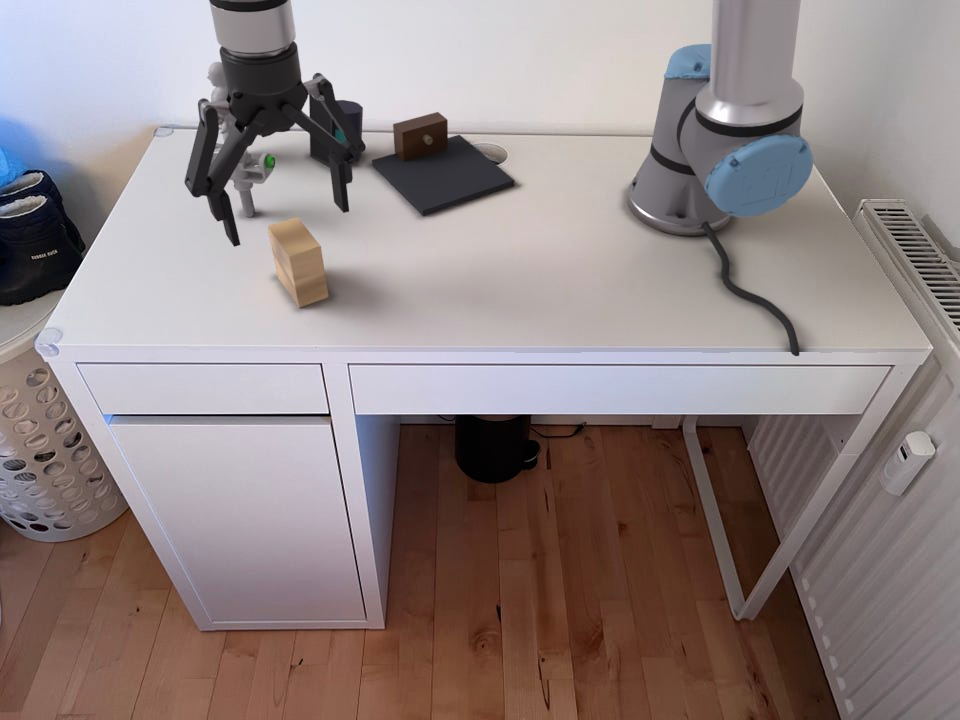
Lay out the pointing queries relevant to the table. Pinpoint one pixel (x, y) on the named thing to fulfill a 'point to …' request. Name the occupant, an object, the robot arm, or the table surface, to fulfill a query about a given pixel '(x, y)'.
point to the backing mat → (443, 176)
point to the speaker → (333, 126)
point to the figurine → (220, 93)
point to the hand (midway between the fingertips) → (289, 223)
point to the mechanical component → (249, 176)
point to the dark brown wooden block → (420, 136)
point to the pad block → (298, 261)
